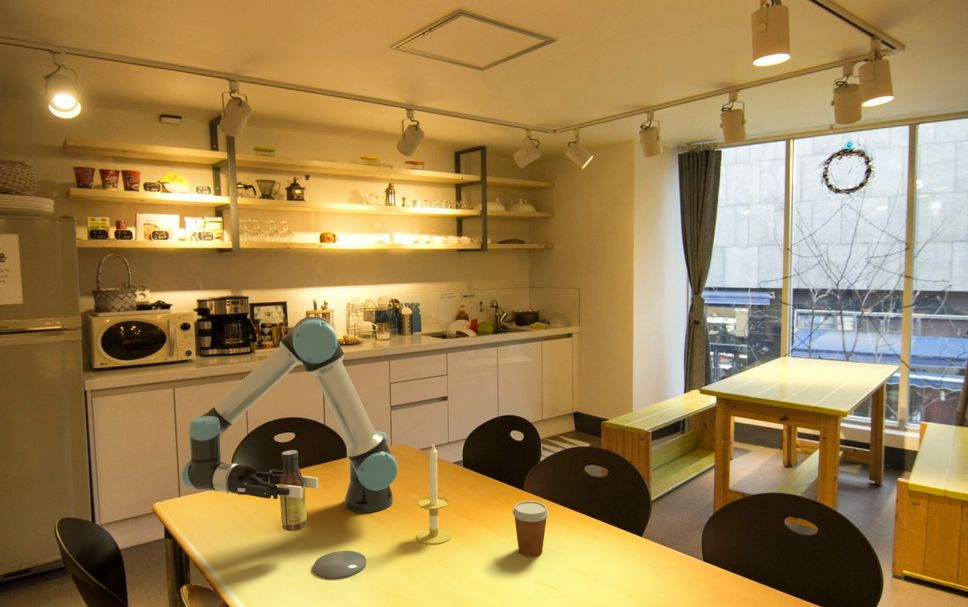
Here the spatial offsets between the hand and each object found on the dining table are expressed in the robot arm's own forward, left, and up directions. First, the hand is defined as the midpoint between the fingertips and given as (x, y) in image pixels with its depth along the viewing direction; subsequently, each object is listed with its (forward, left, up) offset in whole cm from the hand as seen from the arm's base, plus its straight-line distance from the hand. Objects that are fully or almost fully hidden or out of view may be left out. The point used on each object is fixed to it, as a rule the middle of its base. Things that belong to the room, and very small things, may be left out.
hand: (309, 487), depth 155 cm
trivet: (-5, +7, -19) cm, 21 cm away
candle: (-33, +7, -20) cm, 39 cm away
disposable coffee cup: (-49, +30, -20) cm, 61 cm away
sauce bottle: (+3, -4, -11) cm, 12 cm away
